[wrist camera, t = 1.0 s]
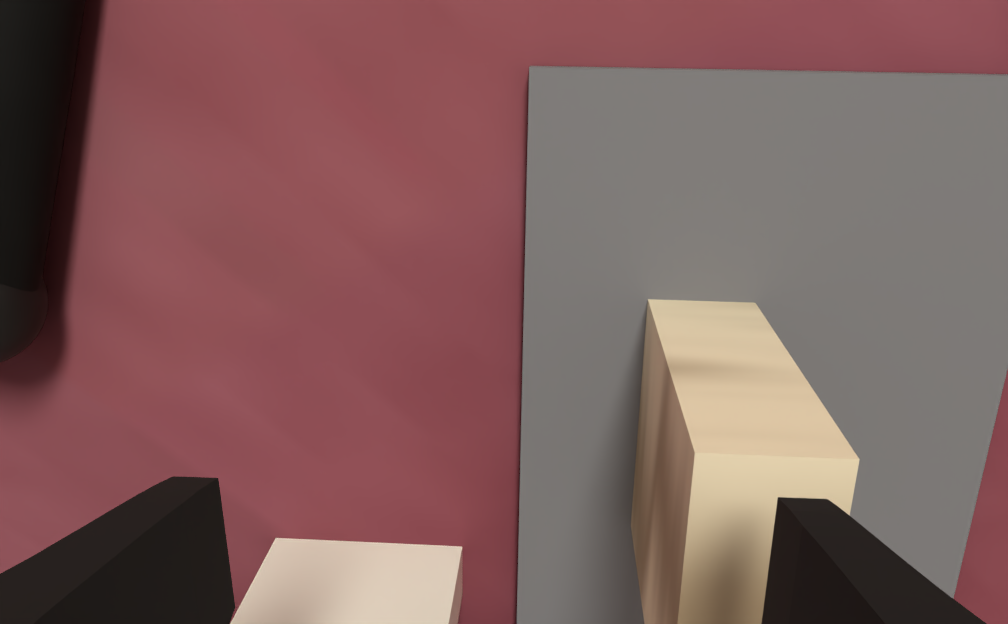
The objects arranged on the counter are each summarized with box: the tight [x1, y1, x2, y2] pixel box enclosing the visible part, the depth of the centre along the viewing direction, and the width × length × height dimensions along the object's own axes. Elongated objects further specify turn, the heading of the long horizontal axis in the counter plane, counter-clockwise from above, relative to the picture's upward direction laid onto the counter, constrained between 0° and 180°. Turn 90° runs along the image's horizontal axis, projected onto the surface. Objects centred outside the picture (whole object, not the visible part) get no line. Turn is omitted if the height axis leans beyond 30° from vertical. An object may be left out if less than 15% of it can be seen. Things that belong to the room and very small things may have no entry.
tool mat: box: [517, 66, 1008, 624], centre depth 20 cm, size 16×11×1 cm
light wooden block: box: [631, 299, 860, 624], centre depth 17 cm, size 6×2×7 cm, turn 179°
